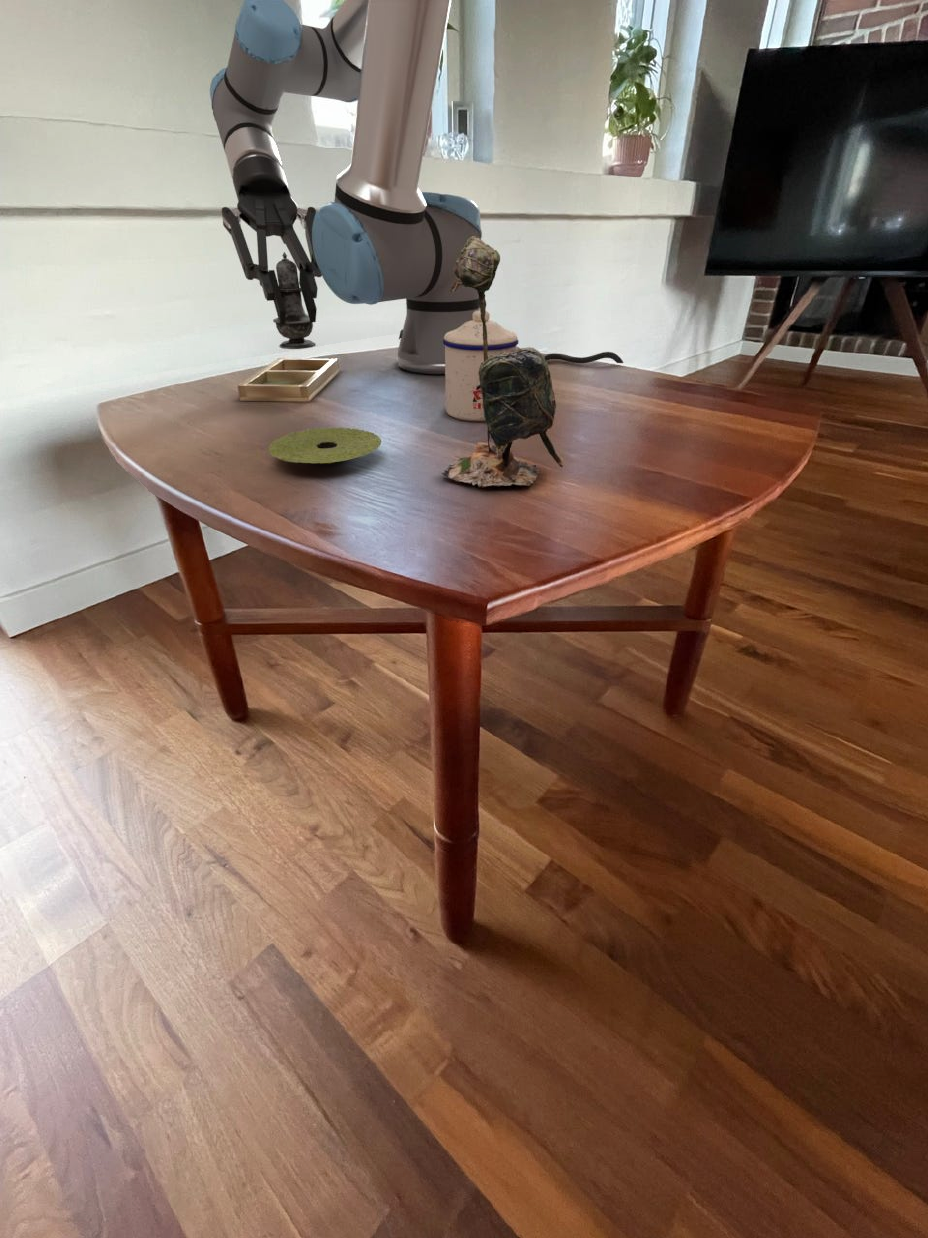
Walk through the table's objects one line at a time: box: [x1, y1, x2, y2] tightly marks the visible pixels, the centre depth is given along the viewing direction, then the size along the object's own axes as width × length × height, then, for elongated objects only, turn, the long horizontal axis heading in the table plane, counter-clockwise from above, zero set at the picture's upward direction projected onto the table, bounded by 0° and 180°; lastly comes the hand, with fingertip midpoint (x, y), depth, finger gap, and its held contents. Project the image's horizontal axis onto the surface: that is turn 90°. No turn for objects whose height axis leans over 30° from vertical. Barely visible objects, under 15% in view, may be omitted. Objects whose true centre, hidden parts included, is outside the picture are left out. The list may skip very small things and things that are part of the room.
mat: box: [268, 427, 382, 465], centre depth 63 cm, size 11×11×2 cm
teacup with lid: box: [443, 310, 521, 422], centre depth 76 cm, size 12×9×12 cm
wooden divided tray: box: [237, 357, 340, 403], centre depth 90 cm, size 10×18×2 cm, turn 177°
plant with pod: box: [441, 236, 565, 488], centre depth 54 cm, size 8×11×20 cm
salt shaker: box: [272, 251, 317, 350], centre depth 88 cm, size 6×6×12 cm
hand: (298, 316), depth 86 cm, fingers closed on salt shaker, 4 cm apart
